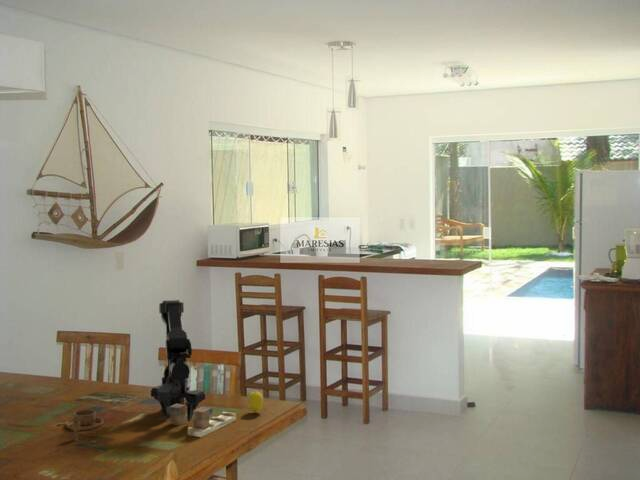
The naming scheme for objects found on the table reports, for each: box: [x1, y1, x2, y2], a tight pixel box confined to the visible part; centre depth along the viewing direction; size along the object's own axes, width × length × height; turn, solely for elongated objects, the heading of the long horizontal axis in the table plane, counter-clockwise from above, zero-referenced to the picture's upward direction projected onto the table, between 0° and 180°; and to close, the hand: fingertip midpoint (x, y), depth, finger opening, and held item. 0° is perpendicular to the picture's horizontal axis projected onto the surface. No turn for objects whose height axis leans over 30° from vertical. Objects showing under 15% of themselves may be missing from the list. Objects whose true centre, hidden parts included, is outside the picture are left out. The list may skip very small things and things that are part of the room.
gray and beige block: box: [167, 404, 187, 426], centre depth 255 cm, size 4×5×6 cm, turn 154°
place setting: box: [58, 409, 104, 441], centre depth 250 cm, size 18×20×6 cm
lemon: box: [247, 390, 265, 414], centre depth 268 cm, size 6×6×8 cm
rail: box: [187, 406, 237, 438], centre depth 252 cm, size 5×20×8 cm, turn 154°
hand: (177, 419), depth 256 cm, fingers open, 9 cm apart
